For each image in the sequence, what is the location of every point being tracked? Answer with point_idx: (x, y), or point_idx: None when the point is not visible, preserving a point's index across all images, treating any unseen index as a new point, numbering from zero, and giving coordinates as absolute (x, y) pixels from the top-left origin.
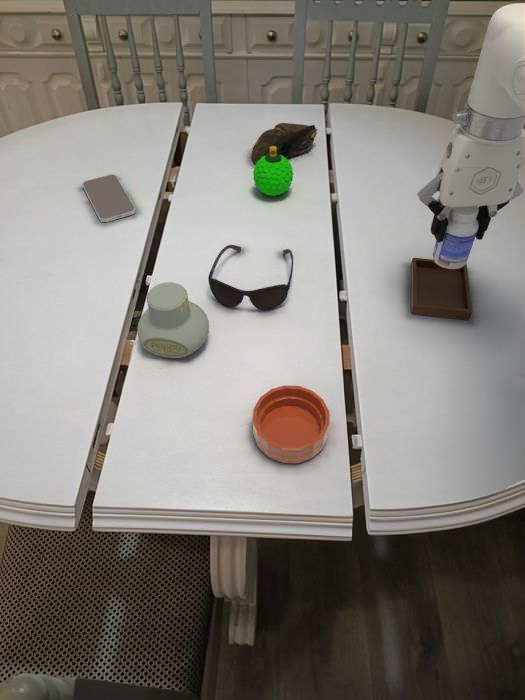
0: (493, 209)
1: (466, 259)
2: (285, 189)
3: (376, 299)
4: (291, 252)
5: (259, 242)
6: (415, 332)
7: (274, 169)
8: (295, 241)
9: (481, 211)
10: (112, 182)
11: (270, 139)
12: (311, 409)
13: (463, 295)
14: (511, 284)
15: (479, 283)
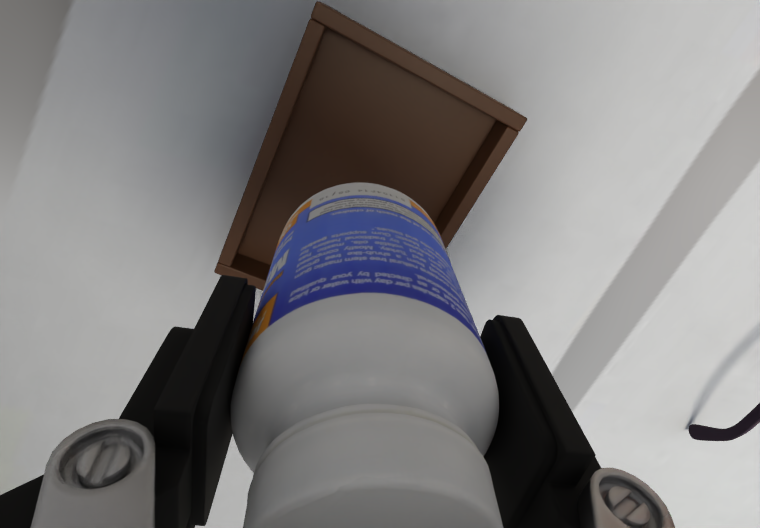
0: (88, 513)
1: (313, 208)
2: None
3: (575, 211)
4: (749, 427)
5: (708, 470)
6: (554, 9)
7: None
8: (628, 458)
9: (190, 493)
10: None
11: None
12: None
13: (284, 136)
14: (63, 145)
15: (190, 185)
